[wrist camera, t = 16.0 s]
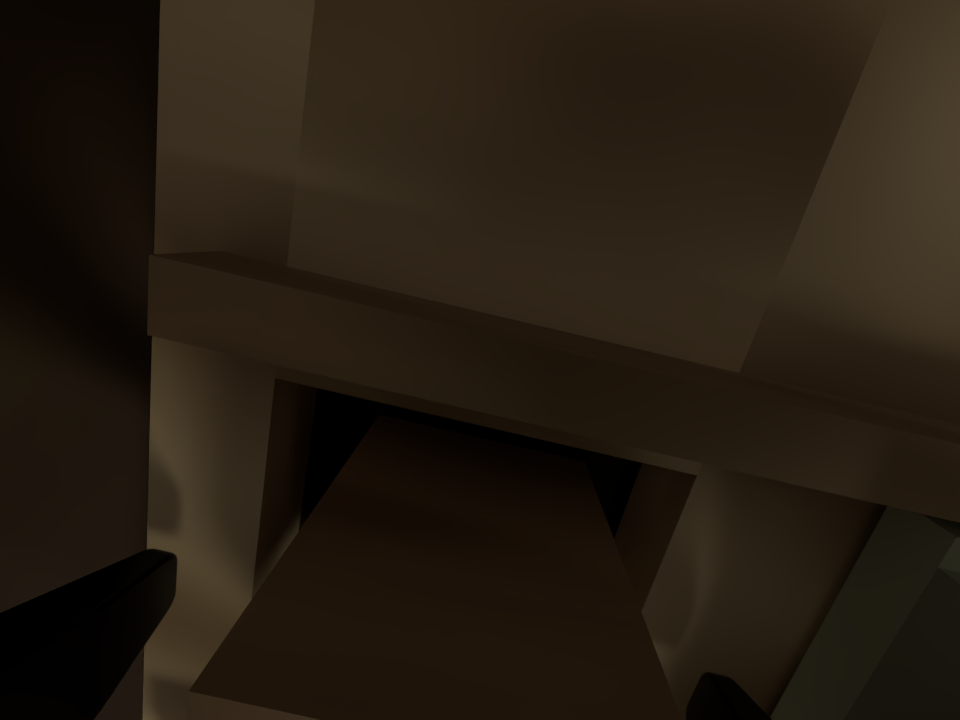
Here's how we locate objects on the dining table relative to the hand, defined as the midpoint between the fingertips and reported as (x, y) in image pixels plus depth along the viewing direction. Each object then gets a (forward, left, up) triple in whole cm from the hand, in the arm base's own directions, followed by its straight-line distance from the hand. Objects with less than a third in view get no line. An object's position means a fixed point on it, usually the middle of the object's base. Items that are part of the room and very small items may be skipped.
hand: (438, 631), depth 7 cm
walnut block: (0, 0, -3) cm, 3 cm away
